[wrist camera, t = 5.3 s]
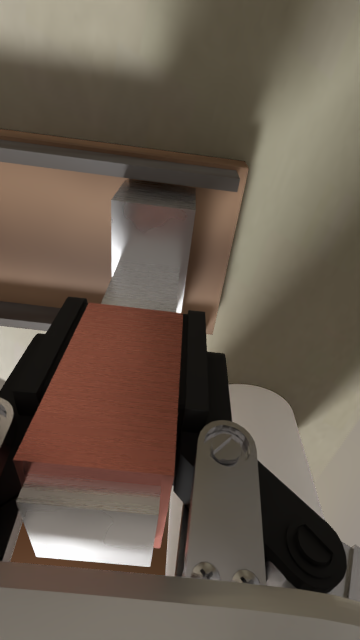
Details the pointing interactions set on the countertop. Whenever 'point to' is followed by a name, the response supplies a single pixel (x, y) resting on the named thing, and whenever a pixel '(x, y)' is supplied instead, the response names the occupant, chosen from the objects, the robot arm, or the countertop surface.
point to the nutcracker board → (99, 221)
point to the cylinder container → (260, 451)
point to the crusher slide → (115, 396)
